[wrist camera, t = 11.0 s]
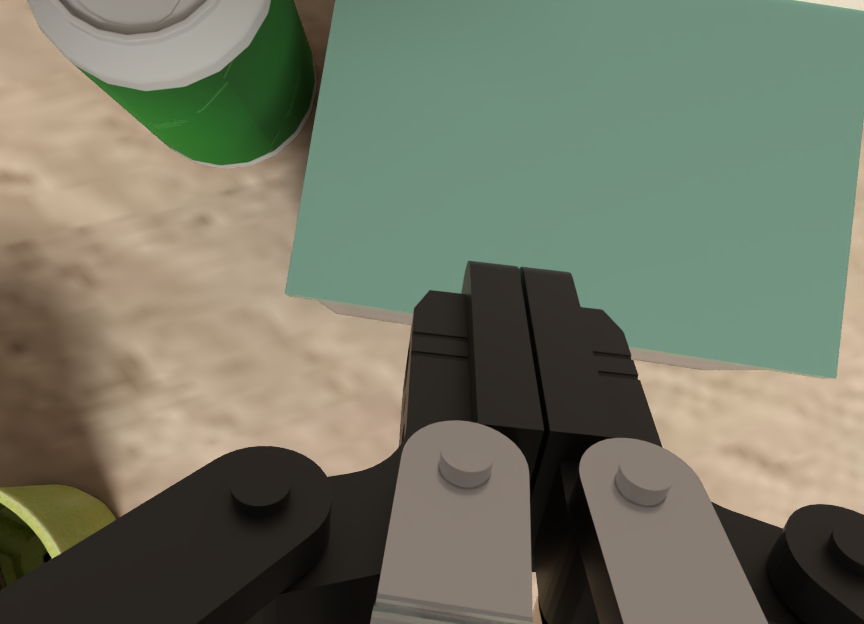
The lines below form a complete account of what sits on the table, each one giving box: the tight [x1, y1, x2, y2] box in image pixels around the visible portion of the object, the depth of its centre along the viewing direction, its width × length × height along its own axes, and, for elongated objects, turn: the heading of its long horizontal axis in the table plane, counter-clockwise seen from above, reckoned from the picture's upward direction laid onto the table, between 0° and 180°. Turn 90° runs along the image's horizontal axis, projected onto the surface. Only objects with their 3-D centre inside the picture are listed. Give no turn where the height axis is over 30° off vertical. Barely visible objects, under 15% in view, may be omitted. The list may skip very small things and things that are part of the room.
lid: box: [285, 0, 864, 378], centre depth 24 cm, size 17×14×1 cm
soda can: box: [27, 0, 317, 169], centre depth 28 cm, size 8×8×12 cm
